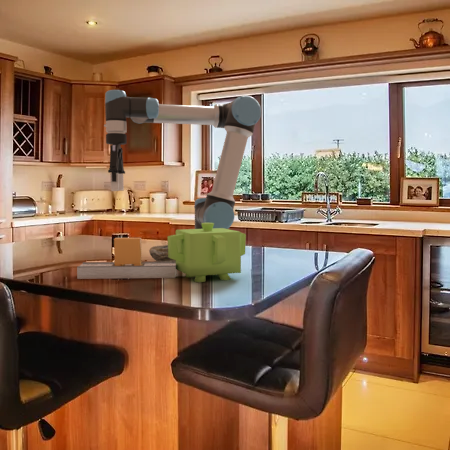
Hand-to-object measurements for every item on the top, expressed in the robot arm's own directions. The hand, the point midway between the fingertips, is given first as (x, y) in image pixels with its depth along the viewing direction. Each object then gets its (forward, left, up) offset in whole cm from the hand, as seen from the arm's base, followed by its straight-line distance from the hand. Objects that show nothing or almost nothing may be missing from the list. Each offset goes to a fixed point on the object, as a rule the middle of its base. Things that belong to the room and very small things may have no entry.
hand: (117, 190), depth 179 cm
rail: (-8, +30, -27) cm, 41 cm away
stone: (-19, +4, -27) cm, 33 cm away
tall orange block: (-8, +30, -27) cm, 41 cm away
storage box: (-33, +34, -27) cm, 54 cm away
